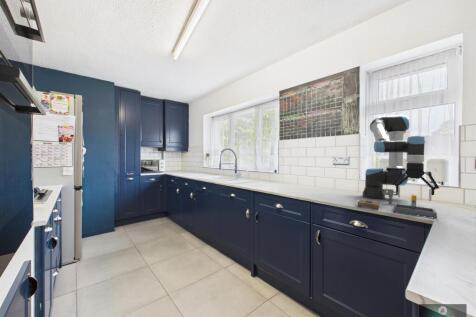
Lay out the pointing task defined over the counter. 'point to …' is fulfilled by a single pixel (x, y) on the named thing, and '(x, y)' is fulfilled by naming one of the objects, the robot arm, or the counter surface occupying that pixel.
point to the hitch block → (368, 204)
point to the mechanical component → (390, 193)
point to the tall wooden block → (413, 201)
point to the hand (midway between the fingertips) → (413, 199)
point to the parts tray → (419, 210)
